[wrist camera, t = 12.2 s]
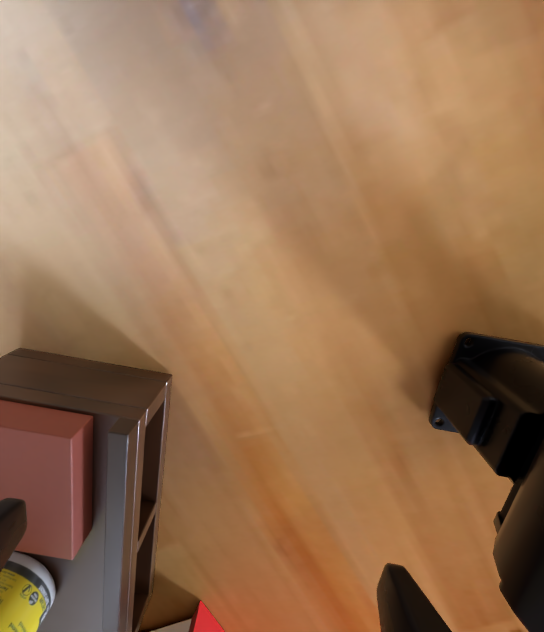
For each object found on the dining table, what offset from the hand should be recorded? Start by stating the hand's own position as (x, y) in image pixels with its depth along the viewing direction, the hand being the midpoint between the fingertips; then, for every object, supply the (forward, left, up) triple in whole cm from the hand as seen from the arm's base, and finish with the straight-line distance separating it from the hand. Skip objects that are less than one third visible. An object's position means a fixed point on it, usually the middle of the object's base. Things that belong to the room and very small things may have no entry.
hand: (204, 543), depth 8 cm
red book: (+10, +7, -8) cm, 15 cm away
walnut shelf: (+10, +13, -13) cm, 21 cm away
